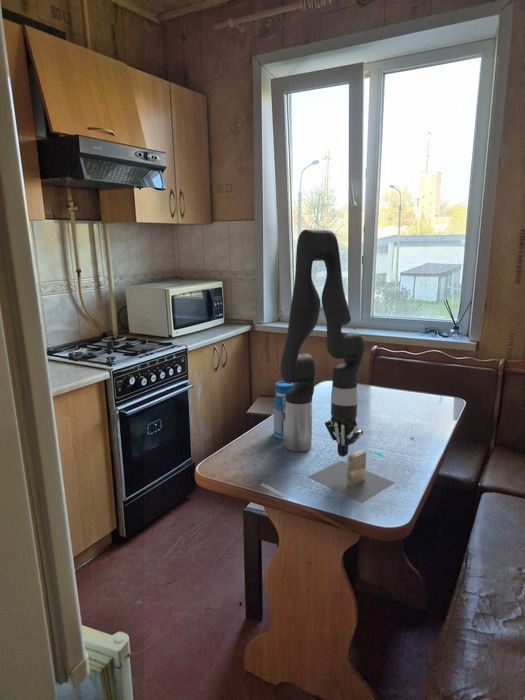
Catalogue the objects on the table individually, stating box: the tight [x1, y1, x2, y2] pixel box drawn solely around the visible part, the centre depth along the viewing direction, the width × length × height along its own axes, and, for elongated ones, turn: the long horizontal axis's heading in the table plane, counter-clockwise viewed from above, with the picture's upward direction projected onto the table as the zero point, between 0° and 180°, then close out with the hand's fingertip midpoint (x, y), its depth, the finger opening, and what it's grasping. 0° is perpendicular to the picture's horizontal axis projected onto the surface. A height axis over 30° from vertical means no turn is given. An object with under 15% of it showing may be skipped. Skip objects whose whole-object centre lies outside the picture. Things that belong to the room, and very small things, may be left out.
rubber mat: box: [307, 460, 395, 504], centre depth 139 cm, size 20×16×1 cm
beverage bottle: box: [272, 380, 295, 439], centre depth 173 cm, size 8×8×20 cm
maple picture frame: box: [347, 449, 367, 487], centre depth 137 cm, size 2×6×9 cm, turn 132°
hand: (342, 455), depth 140 cm, fingers closed
